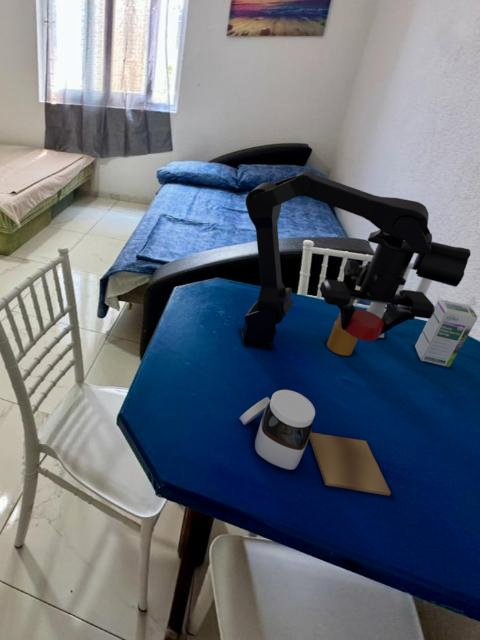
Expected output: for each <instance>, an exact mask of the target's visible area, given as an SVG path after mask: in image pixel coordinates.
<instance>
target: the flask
mask: <svg viewBox="0 0 480 640" xmlns="http://www.w3.org/2000/svg"><path fill="white" fill-rule="evenodd" d="M386 305H387V304H383V303H376V302H371V304H370V306H369V307H368V308H367V309H366V310H365V311H369V312H371V313H373V314H375V315H377V316H378V317H380V318H381V319H382V317H383V315H384V313H385V311H386ZM379 338H383V339H384V338H385V333H383V334H382V335H380V336H379V337H378V338H377V339H379Z"/></svg>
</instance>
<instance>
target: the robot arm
mask: <svg viewBox="0 0 480 640" xmlns="http://www.w3.org/2000/svg"><path fill="white" fill-rule="evenodd" d="M300 196H305V197H308V198H310V199H313V200H316V201H318V202H321V203H324V204H326V205H329V206H332V207H334V208H337V209H339V210H342V211H345V212H347V213H351V214H353V215H355V216H358V217H361V218H363V219H365V220H367V221H369V222H370V223H371V224H372V225H373V226H374V227H376V228H377V229H378V230H376V231H373V232H370V233H369V236H368V238H367V242H369V243H373V244H377V246H376V248H375V251H374V253H373V256H372V258H371V261H370V262H367V263H365V265H360V262H359V261H357V260H351V259H350V260H349V259H347V260H346V262H345V265H344V266H343V274H344V275H345V276H348V277H351V280H355V285H356V286H357V287H359V289H355V288H349V287H348V285H347V284H346V282H345V281H344V280H343V281H341V280H336V279H335V280H334V279H325V280H323V281H322V282H321V284H320V286H319V291H320V294H321V296H322V297H323V300H324V302H325V303H326V304H328V305H329V306H336V307H337V308H338V309H339V313H341V327H342V330H345V329H346V328H347V327H348V325H349V323H350V320H351V318H352V316H353V314H354V312H355V309H356V308H355V306H354V303H355V301H361V302H369V303H373V302H376V303H383V304H386V307H385V310H384V315H383V317H382V320H383V322H384V325H383V329H382V331H381V333H380V335H382V334H383V333H384V334H385V333H387V332H388V331H390V330H391V329H393V328H394V327H396V326H398V325H400V324H403V323H404V322H406V321H408V320H412V321H413V320H414V319H415V318H421V319H427V320H428V319H430V318H431V317H432V315H433V313H434V311H435V305H434V304H433V302H432V301H431V300H430V299H429V298H428V296H427V295H425V293H424V292H423V291H419V290H410V289H402V290H400V291H399V293H397V292H398V290H399V288H400V286H405V284H406V282H407V280H406V279H405V278H404V277H405V275H406V272H407V270H408V268H409V266H410V263H411V261H412V259H413V257H414V255H415V254H417V255H416V257H415V259H414V262H413V264H412V268H411V269H412V270H414V271H415V275H416V276H417V277H418V278H422V279H425V280H430V281H433V282H436V283H439V284H440V283H441V284H444V285H447V286H450V287H455V288H457V287H458V286H459V285H460V283H461V282H462V280H463V278H464V276H465V270H466V267H467V265H468V262H469V259H470V257H471V253H472V252H471V249H469V248H465V247H461V246H460V247H459V246H452V245H448V244H444V243H441V242H440V243H439V242H435V241H433V234H432V233H431V231H430V229H429V225H428V224H429V211H428V209H427V206H425V205H424V204H423V203H421V202H419V201H415V200H410V199H405V198H399V197H389V196H379V195H374V194H371V193H369V192H366V191H363V190H361V189H358V188H354V187H352V186H349V185H346V184H343V183H340V182H338V181H334V180H332V179H329V178H326V177H323V176H320V175H317V174H315V173H314V172H313V171H308V170H305V171H302V172H300V173H298V174H296V175H294V176H290V177H287V178H284V179H281V180H279V181H276V182H271V181H266V182H262V183H261V184H259V185H258V186H257V187H255V188H254V189H252V190H250V191H249V193H248V194H247V195H246V197H245V203H244V204H245V207H246V210H247V215H248V219H250V221H251V223H252V224H253V226H254V228H255V236H256V245H257V246H256V247H257V257H258V265H259V277H260V290H259V293H258V298H257V300H256V301H255V303H253V305H252V307H250V308H249V310H248V312H247V313H246V314H245V315H244V324H243V328H242V327H241V328H240V334H241V338H242V339H241V340H242V343H243V346H244V347H249V348H258V349H264V350H265V349H266V350H272V348H273V345H272V344H273V342H274V339H275V336H276V333H277V327H276V325H279V324H280V323H281V322H282V321H283V319H284V318H285V316H286V315H287V314H288V312H289V310H290V309H291V307H292V306H293V304H294V300H293V298H292V297H293V296H292V294H293V293H292V292H293V291H292V290H293V287H286V286H285V285H284V283H283V279H282V266H281V256H280V255H281V253H280V242H279V240H280V239H279V228H278V224H279V223H278V222H279V218H280V213H281V209H282V204H284V203H286V202H288V201H290V200H294V199H295V198H298V197H300ZM380 335H379V336H380Z"/></svg>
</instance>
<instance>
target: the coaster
mask: <svg viewBox="0 0 480 640" xmlns="http://www.w3.org/2000/svg"><path fill="white" fill-rule="evenodd" d="M309 441H310V444H311V447H312V450H313V453H314V456H315V460H316V461H317V465H318V467H319V470H320V474H321V476H322V479H323V482H324V485H325V486H328V487H333V488H334V487H335V488H341V489H347V490H352V491H359V492H365V493H371V494H374V495H375V494H376V495H382V496H388V497H389V496H391V494H392V492H391V490H390V488H389V486H388V483H387V481H386V480H385V478H384V475H383V472H382V471H381V468H380V466H379V464H378V462H377V461H376V459H375V457H374V455H373V453H372V450H371V449H370V445H369V444H368V442H367V440H363V439H357V438H356V439H355V438H351V437H343V436H337V435H330V434H323V433H318V432H311V434H310V437H309Z"/></svg>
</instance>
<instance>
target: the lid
mask: <svg viewBox="0 0 480 640" xmlns="http://www.w3.org/2000/svg"><path fill="white" fill-rule="evenodd" d="M383 325H384V322H383V320H382V319H381V318H380V317H378V316H377V315H375V314H373V313H371V312H369V311H366V310H364V309H359V308H355V312H354V314H353V316H352V318H351V320H350V323H349V325H348V327H347V328H346V329H345V331H346V332H347V333H349V334H350V335H352V336H353V337H356V338H358V340H361V341H367V342H372V341H373V342H374V341H376V340H378V339H379V338H378V337H379V335H380V333H381V331H382V329H383Z"/></svg>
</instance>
